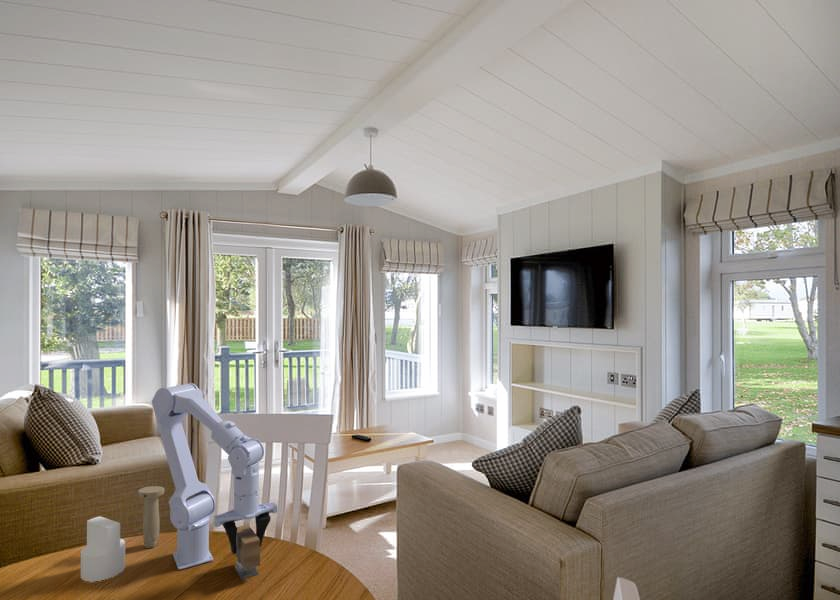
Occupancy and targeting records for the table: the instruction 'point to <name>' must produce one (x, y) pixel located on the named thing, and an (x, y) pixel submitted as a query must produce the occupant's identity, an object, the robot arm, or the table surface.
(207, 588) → the table surface
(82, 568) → the cylinder with rectangular tab
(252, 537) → the rectangular block
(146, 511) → the handle
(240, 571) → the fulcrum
